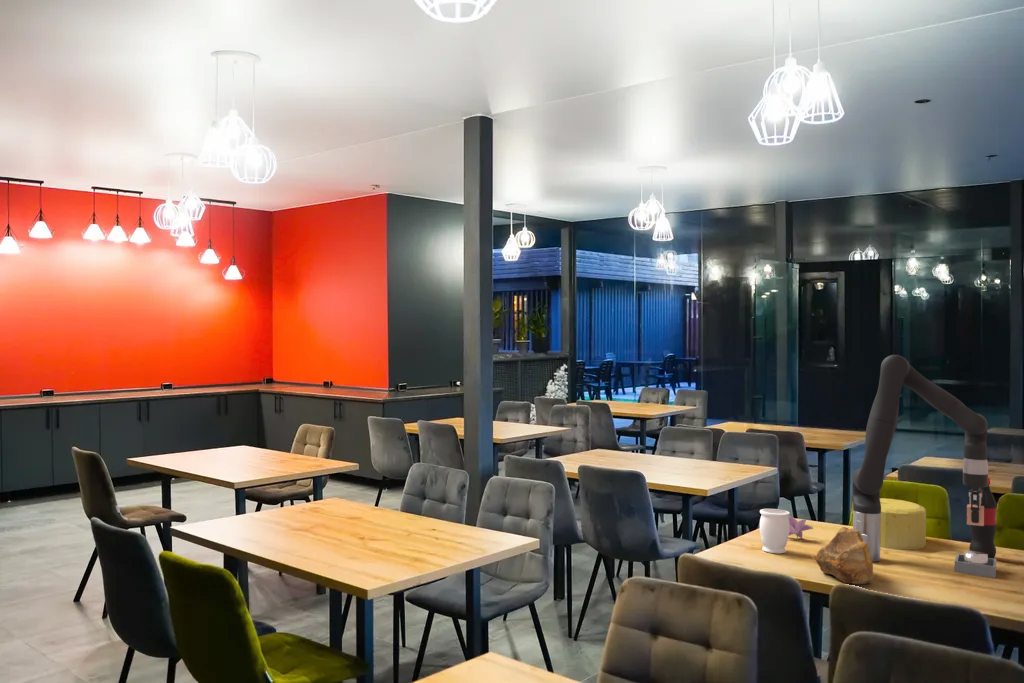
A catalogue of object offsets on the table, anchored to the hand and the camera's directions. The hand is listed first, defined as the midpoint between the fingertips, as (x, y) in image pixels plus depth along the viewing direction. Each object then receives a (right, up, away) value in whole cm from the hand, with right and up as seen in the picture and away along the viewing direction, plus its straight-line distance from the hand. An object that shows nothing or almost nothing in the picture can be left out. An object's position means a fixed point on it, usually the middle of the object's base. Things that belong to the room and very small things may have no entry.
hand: (975, 520), depth 275 cm
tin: (0, -17, -1) cm, 17 cm away
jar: (-61, -17, +25) cm, 68 cm away
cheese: (-9, -18, +43) cm, 48 cm away
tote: (0, -18, -1) cm, 18 cm away
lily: (-47, -17, +42) cm, 65 cm away
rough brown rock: (-49, -17, -7) cm, 52 cm away
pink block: (0, -1, 0) cm, 1 cm away
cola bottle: (+14, -18, +19) cm, 30 cm away
